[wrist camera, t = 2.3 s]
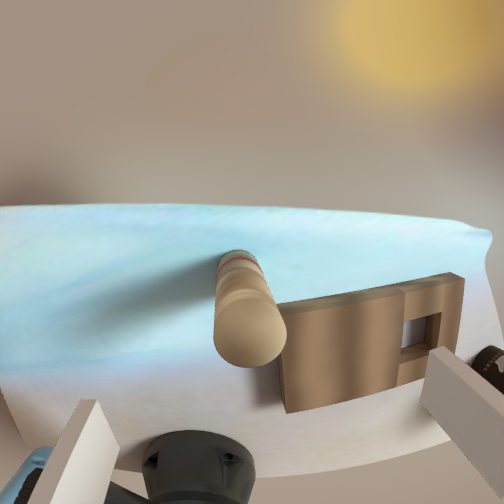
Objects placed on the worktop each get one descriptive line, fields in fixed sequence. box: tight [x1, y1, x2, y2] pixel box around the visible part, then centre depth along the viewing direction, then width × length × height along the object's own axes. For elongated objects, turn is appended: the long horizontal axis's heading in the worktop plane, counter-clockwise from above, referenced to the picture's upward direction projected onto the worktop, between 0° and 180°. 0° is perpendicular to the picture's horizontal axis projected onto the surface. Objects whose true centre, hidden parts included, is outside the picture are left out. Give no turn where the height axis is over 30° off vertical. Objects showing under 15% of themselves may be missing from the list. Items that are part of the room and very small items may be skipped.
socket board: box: [276, 272, 465, 414], centre depth 32 cm, size 22×12×3 cm, turn 96°
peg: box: [213, 250, 287, 368], centre depth 24 cm, size 4×4×14 cm
